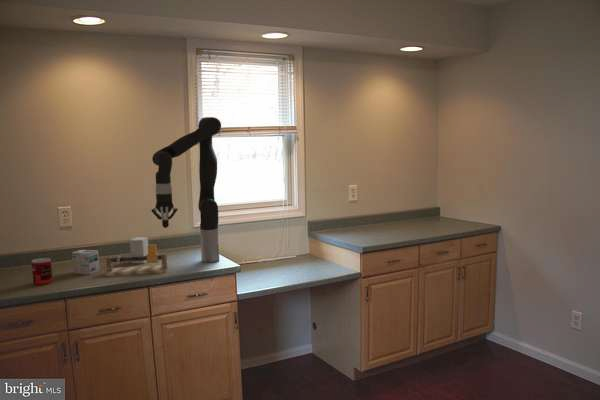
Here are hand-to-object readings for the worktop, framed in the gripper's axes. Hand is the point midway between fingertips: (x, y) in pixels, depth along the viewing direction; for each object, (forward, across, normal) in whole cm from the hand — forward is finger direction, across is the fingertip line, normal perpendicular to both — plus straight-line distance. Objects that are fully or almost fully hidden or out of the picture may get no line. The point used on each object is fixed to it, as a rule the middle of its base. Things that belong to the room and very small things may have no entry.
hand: (165, 227), depth 241 cm
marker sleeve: (+17, +7, 0) cm, 18 cm away
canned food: (+22, +54, +11) cm, 60 cm away
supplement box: (+22, +16, -20) cm, 34 cm away
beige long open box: (+21, +14, 0) cm, 26 cm away
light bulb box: (+22, +39, -4) cm, 45 cm away
